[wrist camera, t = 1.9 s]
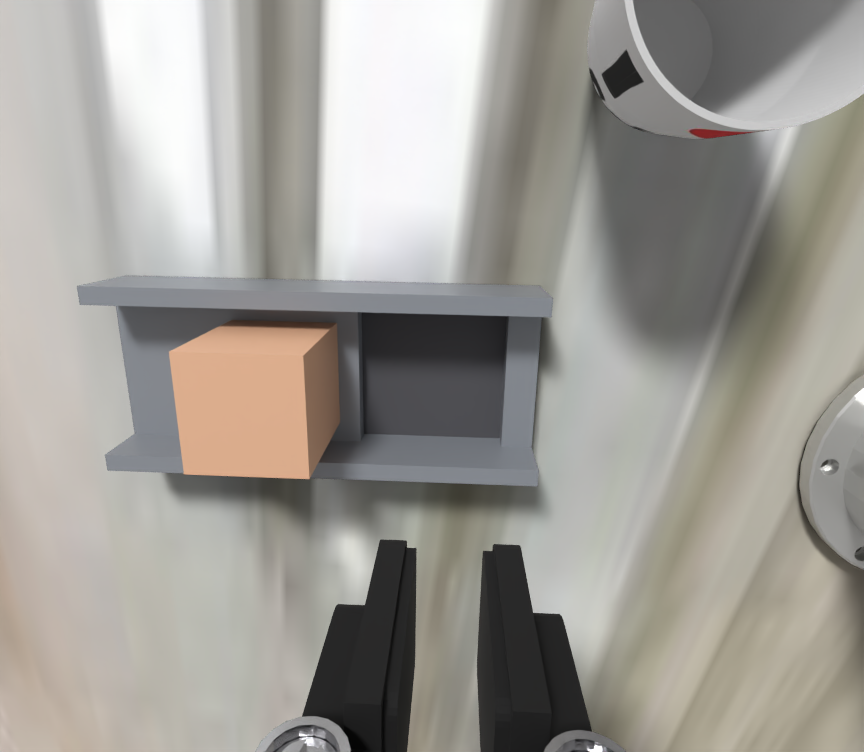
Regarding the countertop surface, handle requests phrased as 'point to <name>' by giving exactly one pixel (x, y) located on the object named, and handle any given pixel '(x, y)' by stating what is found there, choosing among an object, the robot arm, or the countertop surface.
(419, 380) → the grey railed tray
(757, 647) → the countertop surface
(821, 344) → the countertop surface
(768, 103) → the cup
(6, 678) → the countertop surface
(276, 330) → the block
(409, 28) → the countertop surface
